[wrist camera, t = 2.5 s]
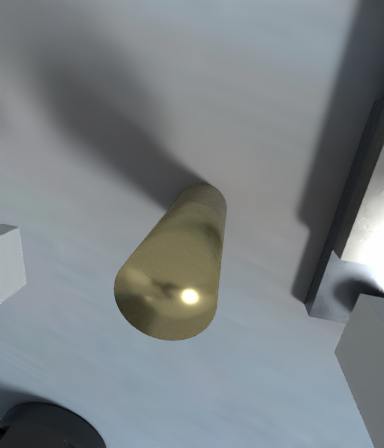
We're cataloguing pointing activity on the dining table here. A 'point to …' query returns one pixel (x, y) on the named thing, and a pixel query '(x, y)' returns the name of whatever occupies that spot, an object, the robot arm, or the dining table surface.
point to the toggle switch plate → (354, 233)
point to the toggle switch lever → (176, 268)
